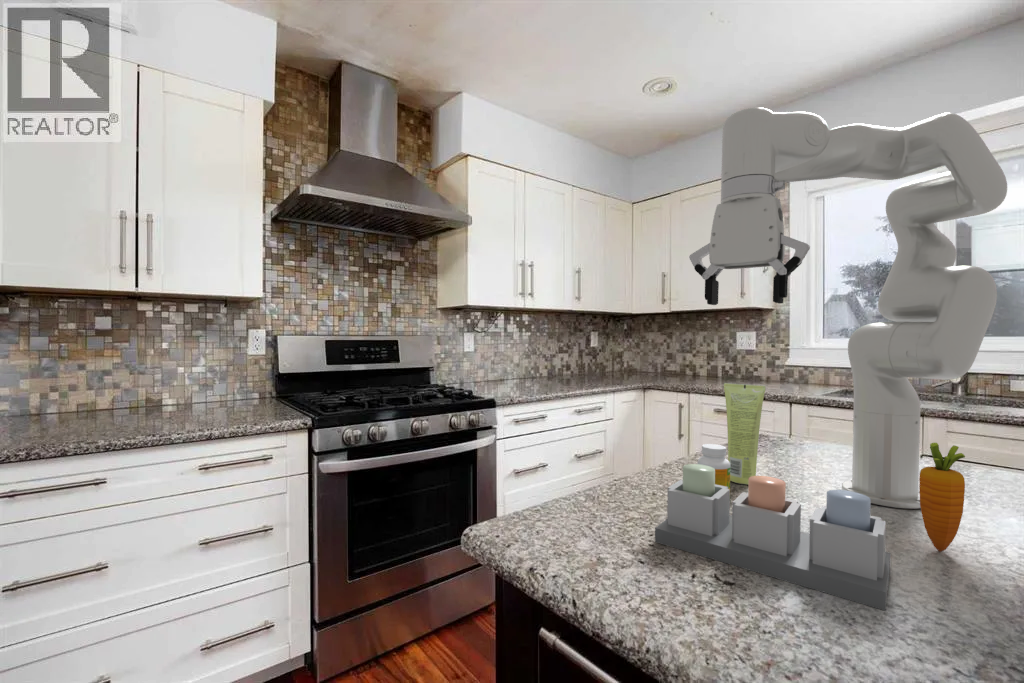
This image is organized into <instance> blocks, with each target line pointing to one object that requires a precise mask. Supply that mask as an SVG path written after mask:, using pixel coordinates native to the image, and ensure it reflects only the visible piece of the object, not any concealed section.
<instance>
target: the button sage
mask: <svg viewBox="0 0 1024 683" xmlns="http://www.w3.org/2000/svg"><path fill="white" fill-rule="evenodd" d="M682 480H683V491H685V492H689V493H694V494H698V495H703V496H707V497H712V496H713V495H715V469H714V468H712V467H710V466H706V465H700V464H697V463H689V464H685V465H684V464H683V466H682Z"/></svg>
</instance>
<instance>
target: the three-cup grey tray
mask: <svg viewBox="0 0 1024 683" xmlns="http://www.w3.org/2000/svg"><path fill="white" fill-rule="evenodd" d="M730 503H731V488H730V489H728V487H726V486H721V485H716V484H715V495H713V496H712V497H707V496H703V495H698V494H694V493H689V492H685V491H683V479H679V480H678V481H676V482H675V483H673V484H671V485H669V486H668V487H667V504H666V505H667V510H666V512H667V514H666V517H667V518H666V519H665V520H664V521H663V522H661V523H660V524H658V525H657V526H656V527H655V528H654V542H655V543H658V544H660V545H661V544H662V545H665V546H667V547H670V548H674V549H678V550H681V551H684V552H686V553H687V552H688V553H691V554H694V555H698V556H701V557H705V558H707V559H711V560H714V561H717V562H721V563H725V564H728V565H732V566H734V567H738V568H742V569H744V570H748V571H752V572H755V573H758V574H761V575H765V576H768V577H771V578H775V579H779V580H781V581H785V582H788V583H791V584H795V585H797V586H802V587H805V588H809V589H812V590H815V591H817V592H822V593H825V594H829V595H832V596H835V597H839V598H843V599H845V600H848V601H853V602H856V603H859V604H862V605H866V606H869V607H873V608H876V609H879V610H883V611H886V609H887V600H888V591H889V581H890V574H891V553H892V552H888V551H886V546H887V545H886V544H887V543H886V541H887V540H886V536H887V533H886V531H887V520H882V517H880V516H876V515H875V516H874V515H870V532H867V531H863V530H858V529H854V528H849V527H845V526H840V525H835V524H831V523H826V506H825V505H822V506H821V507H818V506H816V507H815V509H814V510H813V513H812V514H811V516H810V518H809V533H807V532H804V531H801V523H802V522H801V520H802V519H801V518H802V517H801V516H802V503H799V501H798V500H795V499H790V498H786V497H785V513H781V512H776V511H771V510H767V509H762V508H758V507H753V506H749V505H748V491H747V492H745V491H743V492H741V493H740V494H739V495H738V496H737V497H736V498H735V499H734V500H733V501H732V506H731V507H732V510H731V511H730V508H731V507H730V505H731V504H730ZM730 512H731V515H730Z"/></svg>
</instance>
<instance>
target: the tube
mask: <svg viewBox="0 0 1024 683" xmlns="http://www.w3.org/2000/svg"><path fill="white" fill-rule="evenodd" d="M766 388H767V387H766V385H762V384H761V385H757V384H742V383H728V382H724V383H723V391H724V398H725V407H726V408H725V410H726V422H727V423H726V425H727V460H728V461H729V462H730V482H732V483H736V484H739V485H748V483H749V477H751V476H757V463H758V462H757V461H758V450H759V448H758V447H759V439H760V438H759V437H760V429H761V426H760V425H761V419H762V411H763V402H764V397H765V394H766V393H765V392H766Z"/></svg>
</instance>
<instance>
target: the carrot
mask: <svg viewBox="0 0 1024 683" xmlns="http://www.w3.org/2000/svg"><path fill="white" fill-rule="evenodd" d="M929 446H930V447H929V449H930V452H931V456H932V460H933V462H934V465H935V466H924V467H922V468H921V470H919V491H920V507H921V508H920V512H921V516H922V520H923V525H924V529H925V530H926V533H927V536H928V538H929V540H930V541H931V544H932V545H933V547H934V549H936V551H938V552H940V553H941V552H945V551H946V550H947V549H948V547H949V546H950V545H951V544H952V543H953V541H954V539H955V538H956V535H957V534H958V531H959V528H960V524H961V522H962V517H963V513H964V503H965V489H966V481H965V476H964V475H963V474H962V473H961V472H959V471H957V470H954V469H951V467H952V466H953V465H954V463H955V462H957V461H958V460H960V459H964V458H966V456H965V454H964V453H962V452H959V453H957V451H958V450H959V446H957V445H952V446H951V447H950V449H949V451H948V453H947V456H943V455H942V452H941V451H940V450H941V449H940V447H939V443H938V442H932V443H930V444H929Z"/></svg>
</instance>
